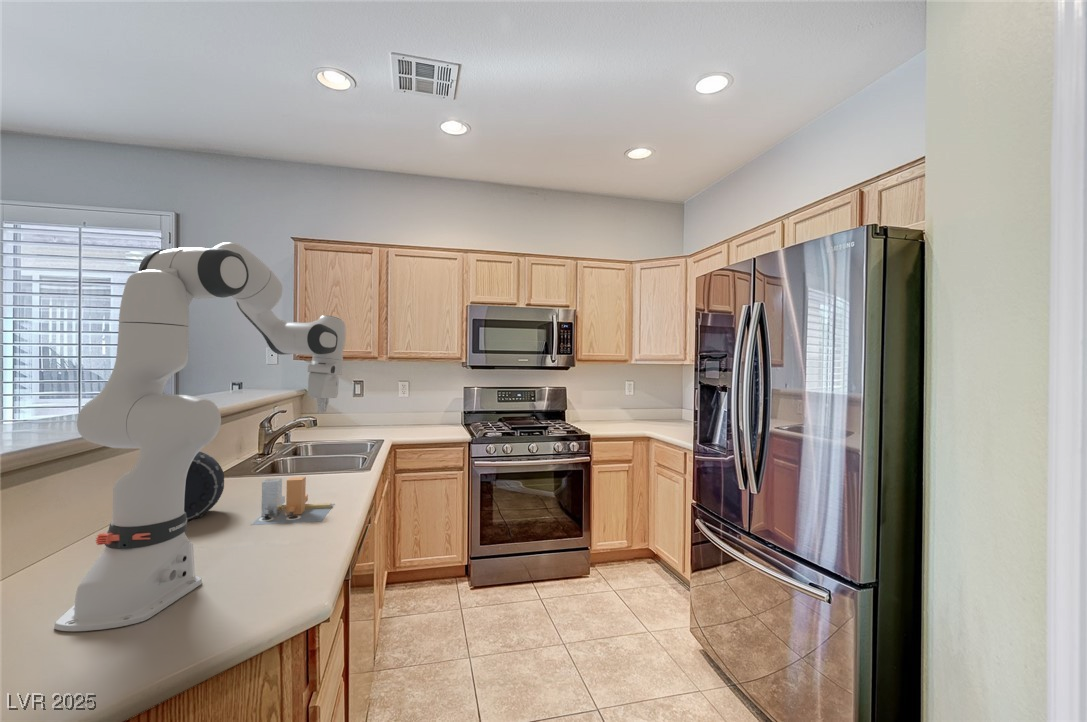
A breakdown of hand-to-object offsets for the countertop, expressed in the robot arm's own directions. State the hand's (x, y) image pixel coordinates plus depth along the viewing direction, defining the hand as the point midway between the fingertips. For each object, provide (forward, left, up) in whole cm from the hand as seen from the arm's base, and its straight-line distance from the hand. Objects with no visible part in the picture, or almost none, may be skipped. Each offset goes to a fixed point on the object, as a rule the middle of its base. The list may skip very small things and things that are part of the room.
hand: (321, 412), depth 147 cm
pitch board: (-7, +5, -30) cm, 31 cm away
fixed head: (-6, +12, -29) cm, 32 cm away
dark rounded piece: (-5, +36, -30) cm, 47 cm away
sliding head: (-6, +5, -29) cm, 30 cm away
